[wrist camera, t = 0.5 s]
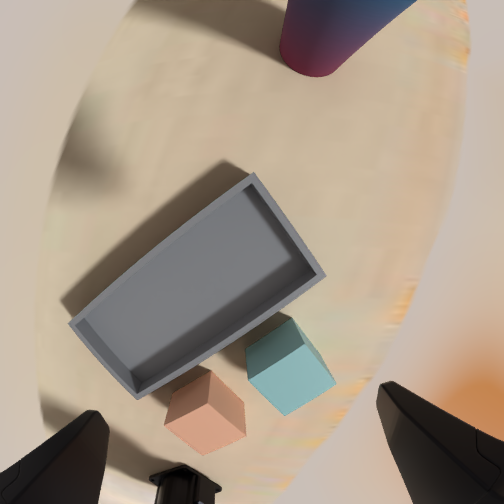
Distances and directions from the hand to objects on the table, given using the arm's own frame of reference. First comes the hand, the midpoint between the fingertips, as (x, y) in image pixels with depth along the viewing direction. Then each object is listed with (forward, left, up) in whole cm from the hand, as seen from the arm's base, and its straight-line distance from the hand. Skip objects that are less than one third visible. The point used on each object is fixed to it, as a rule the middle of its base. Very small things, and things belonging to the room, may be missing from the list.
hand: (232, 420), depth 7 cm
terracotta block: (-8, -7, -14) cm, 18 cm away
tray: (-3, +1, -14) cm, 14 cm away
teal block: (0, -7, -14) cm, 16 cm away
